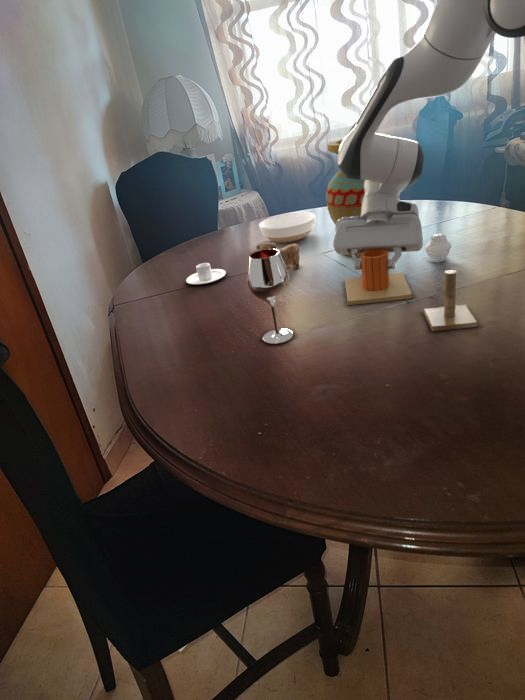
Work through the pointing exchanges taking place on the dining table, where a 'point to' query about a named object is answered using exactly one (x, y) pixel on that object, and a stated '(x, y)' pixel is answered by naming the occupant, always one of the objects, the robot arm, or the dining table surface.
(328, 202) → the vase
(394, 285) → the cork mat
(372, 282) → the orange ring
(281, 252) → the figurine
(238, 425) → the dining table surface
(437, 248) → the muffin
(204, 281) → the candle holder
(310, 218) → the bowl
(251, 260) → the wineglass
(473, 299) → the dining table surface
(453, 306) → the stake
